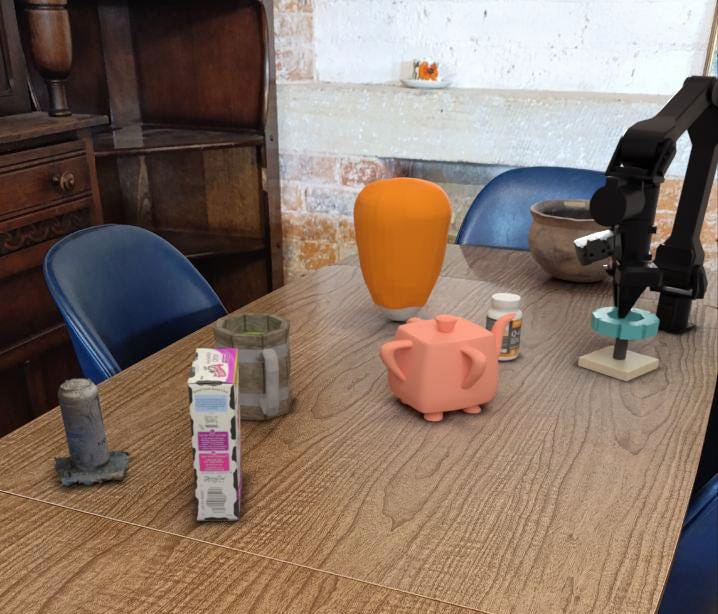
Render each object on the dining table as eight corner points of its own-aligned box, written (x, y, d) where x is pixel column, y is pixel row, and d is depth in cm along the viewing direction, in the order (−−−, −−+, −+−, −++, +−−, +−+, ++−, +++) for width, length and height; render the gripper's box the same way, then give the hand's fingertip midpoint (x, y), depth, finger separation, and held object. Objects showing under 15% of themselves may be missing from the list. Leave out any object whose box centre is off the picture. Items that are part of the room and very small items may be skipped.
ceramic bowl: (639, 293, 178) (651, 218, 171) (532, 292, 178) (540, 216, 171) (612, 266, 198) (623, 197, 191) (516, 264, 198) (523, 195, 191)
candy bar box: (242, 521, 96) (234, 382, 89) (196, 523, 96) (184, 383, 88) (245, 474, 106) (238, 345, 98) (203, 475, 106) (193, 346, 98)
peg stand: (609, 353, 146) (615, 312, 143) (657, 368, 141) (665, 326, 137) (577, 365, 141) (583, 323, 138) (626, 381, 135) (633, 338, 132)
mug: (210, 396, 128) (204, 316, 122) (281, 387, 131) (279, 309, 125) (235, 440, 115) (230, 353, 109) (314, 429, 118) (313, 344, 112)
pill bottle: (517, 363, 142) (523, 303, 137) (482, 360, 143) (487, 300, 138) (518, 351, 147) (525, 293, 142) (484, 348, 148) (489, 290, 143)
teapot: (375, 419, 121) (377, 328, 115) (400, 379, 135) (403, 295, 128) (495, 435, 117) (505, 341, 111) (509, 391, 131) (518, 306, 125)
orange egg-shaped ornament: (337, 328, 156) (337, 182, 144) (372, 302, 170) (374, 167, 158) (429, 341, 150) (437, 190, 139) (457, 314, 164) (467, 174, 153)
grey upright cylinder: (61, 493, 101) (45, 397, 96) (53, 465, 107) (38, 373, 102) (140, 480, 105) (129, 386, 99) (128, 453, 111) (117, 363, 105)
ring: (614, 315, 144) (616, 302, 143) (667, 330, 138) (670, 317, 137) (578, 328, 138) (580, 314, 137) (633, 344, 132) (635, 330, 131)
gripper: (572, 203, 142) (560, 297, 149) (593, 228, 125) (579, 333, 133) (641, 205, 142) (626, 299, 149) (672, 230, 125) (653, 335, 132)
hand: (619, 315), depth 141 cm, fingers closed on ring, 2 cm apart
